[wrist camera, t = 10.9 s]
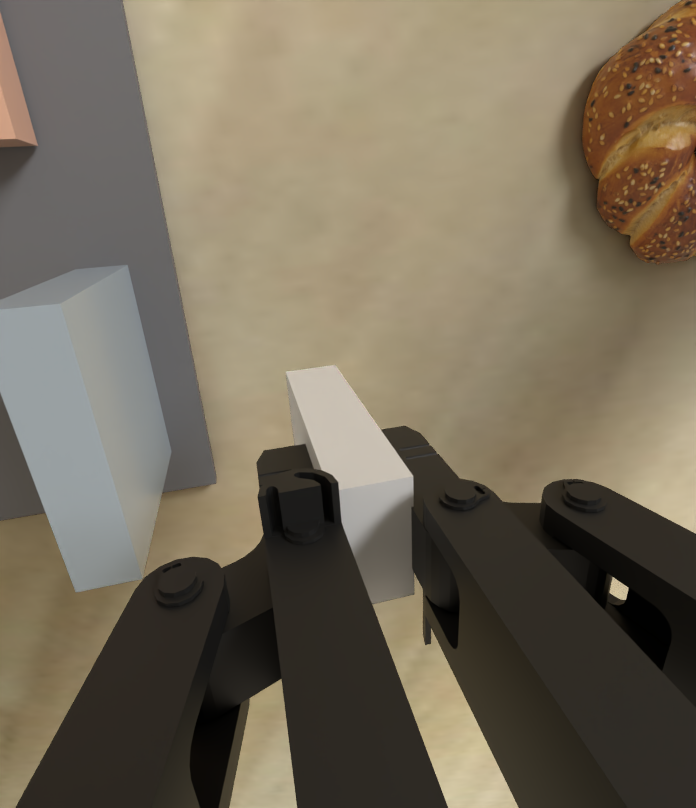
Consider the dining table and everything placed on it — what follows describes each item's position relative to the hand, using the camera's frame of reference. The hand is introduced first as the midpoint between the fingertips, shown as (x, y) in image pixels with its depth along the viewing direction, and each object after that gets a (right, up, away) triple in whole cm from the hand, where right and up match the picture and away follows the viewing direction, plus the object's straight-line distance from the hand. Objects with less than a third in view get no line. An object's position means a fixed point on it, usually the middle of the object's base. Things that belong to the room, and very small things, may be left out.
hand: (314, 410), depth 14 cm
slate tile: (-8, +2, +5) cm, 9 cm away
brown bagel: (+16, +13, +8) cm, 22 cm away
